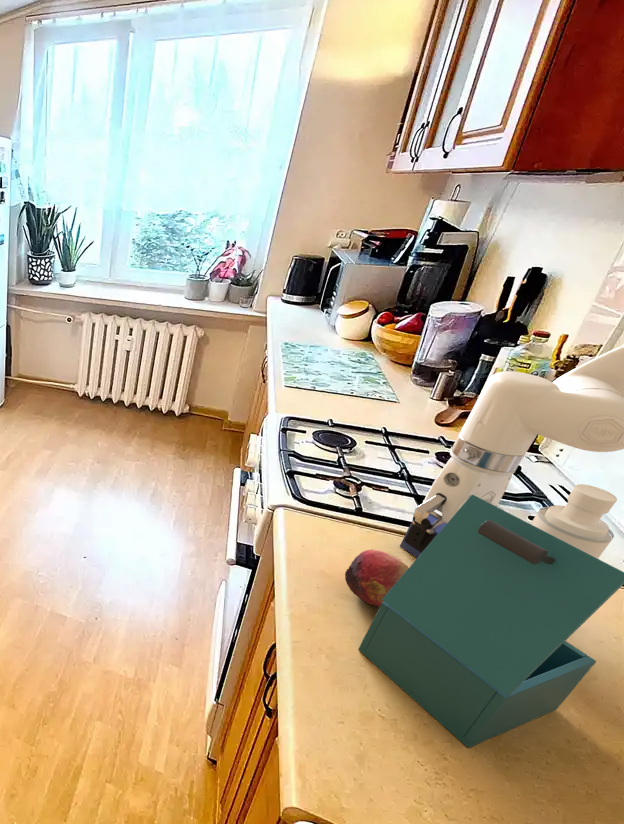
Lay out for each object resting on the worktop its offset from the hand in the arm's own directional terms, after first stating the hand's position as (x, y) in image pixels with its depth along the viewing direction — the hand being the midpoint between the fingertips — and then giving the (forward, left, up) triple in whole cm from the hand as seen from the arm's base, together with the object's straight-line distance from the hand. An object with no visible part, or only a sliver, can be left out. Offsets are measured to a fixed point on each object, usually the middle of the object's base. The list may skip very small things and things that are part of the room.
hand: (435, 541), depth 85 cm
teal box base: (+21, +17, -3) cm, 27 cm away
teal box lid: (+25, +17, +13) cm, 33 cm away
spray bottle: (+5, +14, -3) cm, 15 cm away
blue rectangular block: (0, 0, -3) cm, 3 cm away
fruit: (+19, +4, -3) cm, 19 cm away
